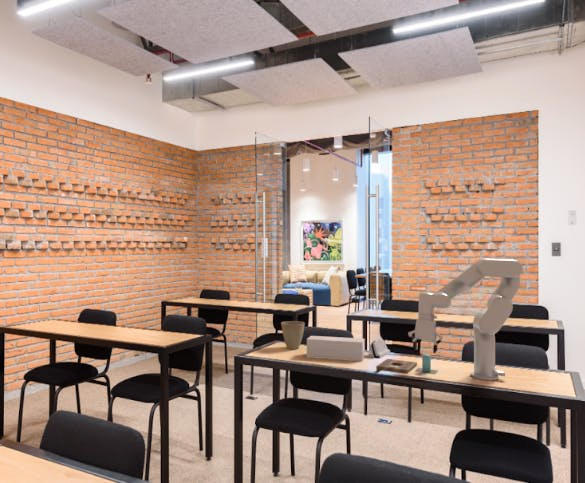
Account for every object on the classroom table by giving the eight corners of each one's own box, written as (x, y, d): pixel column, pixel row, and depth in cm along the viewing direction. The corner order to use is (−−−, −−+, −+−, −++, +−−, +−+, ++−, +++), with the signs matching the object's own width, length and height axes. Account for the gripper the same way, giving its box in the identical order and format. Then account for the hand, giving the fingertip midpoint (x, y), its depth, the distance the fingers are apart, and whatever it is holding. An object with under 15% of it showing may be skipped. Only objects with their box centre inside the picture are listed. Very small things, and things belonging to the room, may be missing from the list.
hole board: (416, 368, 239) (416, 362, 239) (407, 376, 223) (407, 369, 223) (387, 364, 247) (387, 358, 247) (376, 371, 231) (376, 365, 231)
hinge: (380, 358, 260) (374, 341, 262) (373, 360, 263) (367, 343, 265) (390, 352, 274) (385, 336, 276) (383, 354, 277) (378, 338, 279)
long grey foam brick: (306, 357, 262) (306, 338, 262) (310, 353, 272) (310, 335, 272) (362, 361, 253) (362, 342, 253) (364, 357, 264) (364, 338, 264)
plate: (438, 373, 229) (438, 370, 229) (434, 377, 222) (434, 374, 222) (418, 370, 233) (418, 367, 233) (414, 374, 226) (414, 371, 226)
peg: (431, 370, 228) (431, 354, 228) (429, 372, 225) (429, 356, 225) (423, 369, 230) (423, 353, 230) (421, 371, 227) (421, 355, 227)
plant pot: (304, 345, 293) (304, 320, 294) (305, 350, 278) (305, 324, 279) (281, 345, 293) (281, 320, 293) (280, 350, 278) (281, 324, 279)
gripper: (445, 318, 227) (444, 352, 227) (410, 314, 236) (409, 347, 235) (442, 319, 221) (441, 355, 220) (406, 316, 229) (405, 350, 229)
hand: (424, 351), depth 228 cm, fingers open, 9 cm apart
